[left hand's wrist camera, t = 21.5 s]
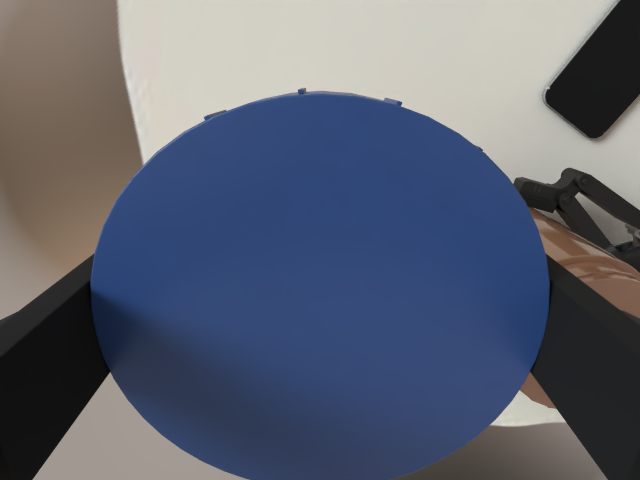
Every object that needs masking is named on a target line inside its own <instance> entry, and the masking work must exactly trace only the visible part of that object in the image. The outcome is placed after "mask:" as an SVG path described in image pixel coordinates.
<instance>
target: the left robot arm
mask: <svg viewBox="0 0 640 480" xmlns="http://www.w3.org/2000/svg"><path fill="white" fill-rule="evenodd" d="M94 254H95V253H94ZM94 254H93V255H92V256H90V257H89V258H88V259H87V260H85V261H84V262H83V263H81V264H80V265H79V266H77V267H76V268H75V269H73V270H72V271H71V272H69V273H68V274H67V275H65V276H64V277H63V278H62V279H60V280H59V281H58V282H56V283H55V284H54V285H52V286H51V287H50V288H49V289H47V290H46V291H44V292H43V293H42V294H41V295H39V296H38V297H37V298H35V299H34V300H33V301H31V302H30V303H29V304H27V305H26V306H25V307H23V308H22V309H21V310H20V311H18V312H16V313H14V314H12V315H10V316H8V317H6V318H4V319H2V320H0V480H32V479H33V478H34V477H35V475H36V474H37V472H38V471H39V470H40V468H41V467H42V466H43V464H44V463H45V461H46V460H47V459H48V457H49V456H50V454H51V453H52V452H53V450H54V449H55V448H56V446H57V445H58V443H59V442H60V441H61V439H62V438H63V436H64V435H65V434H66V432H67V431H68V430H69V428H70V427H71V425H72V424H73V423H74V421H75V420H76V418H77V417H78V416H79V414H80V413H81V412H82V410H83V409H84V407H85V406H86V405H87V403H88V402H89V400H90V399H91V398H92V396H93V395H94V393H95V392H96V391H97V389H98V388H99V387H100V385H101V384H102V382H103V381H104V380H105V378H106V377H107V376H108V374H109V373H110V370H109V368H108V366H107V364H106V362H105V360H104V358H103V355H102V352H101V349H100V346H99V342H98V339H97V335H96V331H95V326H94V322H93V316H92V310H91V275H92V268H93V261H94ZM546 258H547V265H548V273H549V280H550V297H549V313H548V319H547V324H546V328H545V332H544V336H543V340H542V344H541V347H540V350H539V353H538V356H537V359H536V361H535V363H534V365H533V367H532V369H531V371H530V372H531V374H532V375H533V377H534V378H535V379H536V381H537V382H538V384H539V385H540V386H541V388H542V389H543V390H544V392H545V393H546V395H547V396H548V397H549V399H550V400H551V402H552V403H553V404H554V406H555V407H556V408H557V410H558V411H559V413H560V414H561V415H562V417H563V418H564V420H565V421H566V422H567V424H568V425H569V426H570V428H571V429H572V431H573V432H574V433H575V435H576V436H577V437H578V439H579V440H580V442H581V443H582V444H583V446H584V447H585V449H586V450H587V451H588V453H589V454H590V456H591V457H592V458H593V460H594V461H595V462H596V464H597V465H598V466H599V468H600V469H601V471H602V472H603V473H604V475H605V476H606V478H607V479H608V480H640V318H638V317H636V316H634V315H632V314H630V313H628V312H626V311H624V310H619V309H618V308H617V307H615V306H614V305H613V304H612V303H610V302H609V301H608V300H606V299H605V298H604V297H602V296H601V295H600V294H598V293H597V292H596V291H594V290H593V289H592V288H591V287H589V286H588V285H587V284H585V283H584V282H583V281H581V280H580V279H579V278H577V277H576V276H575V275H574V274H572V273H571V272H570V271H568V270H567V269H566V268H564V267H563V266H562V265H560V264H559V263H558V262H556V261H555V260H554V259H553V258H551V257H550V256H549V255H547V254H546Z"/></svg>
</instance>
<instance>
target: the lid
mask: <svg viewBox="0 0 640 480" xmlns="http://www.w3.org/2000/svg"><path fill="white" fill-rule="evenodd" d="M401 105H402V102H400V101H396V100H392V99H388V98H385V99H384V101H383V100H379V99H375V98H370V97H366V96H361V95H357V94H352V93H342V92H329V91H313V92H306V88H302V89H299V90H298V92H297V93H289V94H284V95H279V96H274V97H270V98H265V99H261V100H258V101H255V102H251V103H248V104H245V105H243V106H240V107H237V108H234V109H231V110H229V111H226V110H223V111H220V112H217V113H213V114H210V115H207V116H205V117H204V119H205V121H204V122H202V123H200V124H198V125H196V126H194V127H192V128H190V129H189V130H187V131H185V132H183V133H182V134H181V135H179V136H178V137H176V138H175V139H174V140H172V141H171V142H170V143H168V144H167V145H166V146H164V147H163V148H162V149H160V150H159V151H158V152H156V153H155V154H154V155H153V157H152V158H151V159H150V160H149V161H148V162H147V163H146V164H145V165H144V166H143V167H142V168H141V169H140V170H139V171H138V172H137V173H136V174H135V175H134V176H133V178H132V179H131V180H130V182H129V183H128V184H127V186H126V187H125V189H124V190H123V191H122V193H121V194H120V195H119V197H118V198H117V200H116V202H115V204H114V206H113V208H112V210H111V212H110V214H109V216H108V218H107V220H106V222H105V224H104V226H103V228H102V231H101V235H100V238H99V241H98V244H97V247H96V251H95V254H94V261H93V268H92V275H91V310H92V316H93V322H94V326H95V331H96V335H97V339H98V342H99V346H100V349H101V352H102V355H103V358H104V360H105V362H106V364H107V366H108V368H109V370H110V372H111V374H112V376H113V378H114V380H115V381H116V383H117V384H118V386H119V387H120V389H121V390H122V392H123V393H124V395H125V396H126V398H127V399H128V401H129V402H130V403H131V404H132V405H133V406H134V408H135V409H136V410H137V411H138V412H139V413H140V415H141V416H142V417H143V418H144V419H145V420H146V421H147V422H148V423H149V424H150V425H152V426H153V427H154V428H155V429H156V430H157V431H158V432H159V433H160V434H161V435H163V436H164V437H165V438H167V439H168V440H169V441H171V442H172V443H174V444H175V445H176V446H178V447H179V448H180V449H182V450H184V451H185V452H187V453H189V454H190V455H192V456H194V457H196V458H197V459H199V460H201V461H203V462H205V463H207V464H209V465H212V466H214V467H216V468H218V469H220V470H223V471H225V472H228V473H231V474H234V475H237V476H240V477H243V478H245V479H249V480H392V479H395V478H398V477H401V476H404V475H407V474H410V473H413V472H415V471H418V470H420V469H422V468H424V467H427V466H429V465H431V464H433V463H436V462H438V461H439V460H441V459H443V458H445V457H446V456H448V455H450V454H452V453H453V452H455V451H457V450H458V449H460V448H461V447H463V446H464V445H465V444H467V443H468V442H470V441H471V440H472V439H474V438H475V437H477V436H478V435H479V434H480V433H481V432H482V431H483V430H484V429H486V428H487V427H488V426H489V425H490V424H491V423H492V422H493V421H494V420H496V418H497V417H498V416H499V415H500V414H501V413H502V412H503V410H504V409H505V408H506V407H507V406H508V405H509V404H510V402H511V401H512V400H513V398H514V397H515V395H516V394H517V392H518V391H519V390H520V388H521V387H522V385H523V384H524V382H525V381H526V379H527V377H528V375H529V373H530V371H531V369H532V367H533V365H534V363H535V361H536V359H537V356H538V353H539V350H540V347H541V344H542V340H543V336H544V332H545V328H546V324H547V319H548V313H549V297H550V280H549V273H548V265H547V258H546V253H545V250H544V247H543V243H542V240H541V236H540V233H539V230H538V227H537V225H536V223H535V221H534V219H533V217H532V215H531V213H530V211H529V209H528V207H527V205H526V202H525V201H524V199H523V198H522V197H521V195H520V194H519V192H518V191H517V189H516V188H515V187H514V185H513V184H512V182H511V181H510V179H509V178H508V177H507V176H506V175H505V174H504V173H503V172H502V170H501V169H500V168H499V167H498V166H497V165H496V164H495V163H494V162H493V161H492V160H491V159H490V158H489V157H488V156H487V155H486V154H485V153H484V152H482V151H483V150H482V149H481V148H480V147H478V146H475V145H473V144H472V143H471V142H469V141H468V140H467V139H465V138H464V137H463V136H461V135H460V134H459V133H457V132H455V131H453V130H452V129H450V128H448V127H446V126H444V125H442V124H441V123H439V122H437V121H435V120H433V119H432V118H430V117H428V116H425V115H422V114H420V113H417V112H414V111H412V110H409V109H406V108H404V107H401Z"/></svg>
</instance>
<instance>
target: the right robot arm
mask: <svg viewBox="0 0 640 480" xmlns="http://www.w3.org/2000/svg"><path fill="white" fill-rule="evenodd" d="M513 185H514V187H515V188H516V189H517V191H518V192H519V194H520V195H521V197H522V198H523V199H524V201H525V202H526V205H527V206H529V207H532V208H536V209H540V210H543V211H547V212H550V213H553V212H554V210H556V211H557V212H558V214H559V215H560V216H561V217H562V219H563V220H564V221H565V222H566V224H567V225H568V226H569V228H570V229H571V230H572V231H574V232H575V233H577V234H579V235H580V236H582V237H584V238H585V239H587V240H589V241H590V242H592V243H594V244H595V245H597V246H599V247H600V248H602V249H604V250H605V251H607V252H609V253H610V254H612V255H614V256H615V257H617V258H619V259H620V260H622V261H624V262H625V263H627V264H628V265H630V266H632V267H633V268H634V269H636V270H637V271H638V272H639V273H640V210H638V209H637V208H635V207H634V206H633V205H631V204H630V203H629V202H627V201H626V200H624V199H623V198H622V197H620V196H619V195H618V194H616V193H615V192H613V191H612V190H611V189H609V188H608V187H607V186H605V185H604V184H602V183H601V182H600V181H598V180H597V179H595V178H594V177H593V176H591V175H589V174H587V173H584V172H581V171H578V170H575V169H572V168H567V169H565V170H564V171H563V172H562V173H561V178H560V179H559V181H557V182H556V183H554V184H544V183H541V182H537V181H534V180H530V179H527V178H523V177H521V178H516V179H515V181H514V183H513ZM578 192H580V193H581V194H583V195H584V196H585V197H587V198H588V199H590V200H591V201H592V202H594V203H595V204H597V205H598V206H600V207H601V208H602V209H604V210H605V211H607V212H608V213H609V214H611V215H612V216H614V217H615V218H617V219H618V220H621V221H623V222H625V223H627V224H626V225H625V227H626V228H627V231H628V233H629V234H631V235H632V236H633V241H630V242H626V243H623V244H620V245H616V246H613V245H611V243H610V242H609V241H608V240H607V238H606V237H605V236H604V234H603V233H602V232H601V230H600V229H599V228H598V227H597V225H596V224H595V223H594V221H593V220H592V219H591V217H590V216H589V215H588V214H587V212H586V211H585V210H584V208H583V207H582V206H581V204H580V203H579V202H578V201H577V199H576V198H575V197H574V196H575V195H576V194H577V193H578Z"/></svg>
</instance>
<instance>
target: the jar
mask: <svg viewBox="0 0 640 480" xmlns="http://www.w3.org/2000/svg"><path fill="white" fill-rule="evenodd" d="M527 207H528V209H529V211H530V213H531V215H532V217H533V219H534V221H535V223H536V225H537V227H538V230H539V233H540V236H541V240H542V243H543V247H544V250H545V253H546V254H547V255H549V256H550V257H551V258H553V259H554V260H555V261H556V262H558V263H559V264H560V265H562V266H563V267H564V268H566V269H567V270H568V271H570V272H571V273H572V274H574V275H575V276H576V277H577V278H579V279H580V280H581V281H583V282H584V283H585V284H587V285H588V286H589V287H591V288H592V289H593V290H594V291H596V292H597V293H598V294H600V295H601V296H602V297H604V298H605V299H606V300H608V301H609V302H610V303H612V304H613V305H614V306H615V307H617V308H618V309H619V310H624V311H626V312H628V313H630V314H632V315H634V316H636V317H638V318H640V273H639V272H638V271H637V270H636V269H634V268H633V267H632V266H630V265H628V264H627V263H625V262H624V261H622V260H620V259H619V258H617V257H615V256H614V255H612V254H610V253H609V252H607V251H605V250H604V249H602V248H600V247H599V246H597V245H595V244H594V243H592V242H590V241H589V240H587V239H585V238H584V237H582V236H580V235H579V234H577V233H575V232H574V231H572V230H570V229H569V228H567V227H565V226H564V225H562V224H560V223H559V222H557V221H555V220H554V219H552V218H550V217H549V216H547V215H545V214H544V213H542V212H540V211H539V210H537V209H535V208H532V207H529V206H527ZM520 391H521V392H523V393H524V394H525V395H526V396H528V397H529V398H530V399H531V400H532V401H535V402H537V403H540V404H543V405H545V406H547V407H548V408H555V409H557V408H556V407H555V406H554V404H553V403H552V402H551V400H550V399H549V397H548V396H547V395H546V393H545V392H544V390H543V389H542V388H541V386H540V385H539V384H538V382H537V381H536V379H535V378H534V377H533V375H532V374H531V372H530V373H529V375H528V377H527V379H526V381H525V382H524V384H523V385H522V387H521V388H520Z"/></svg>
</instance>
